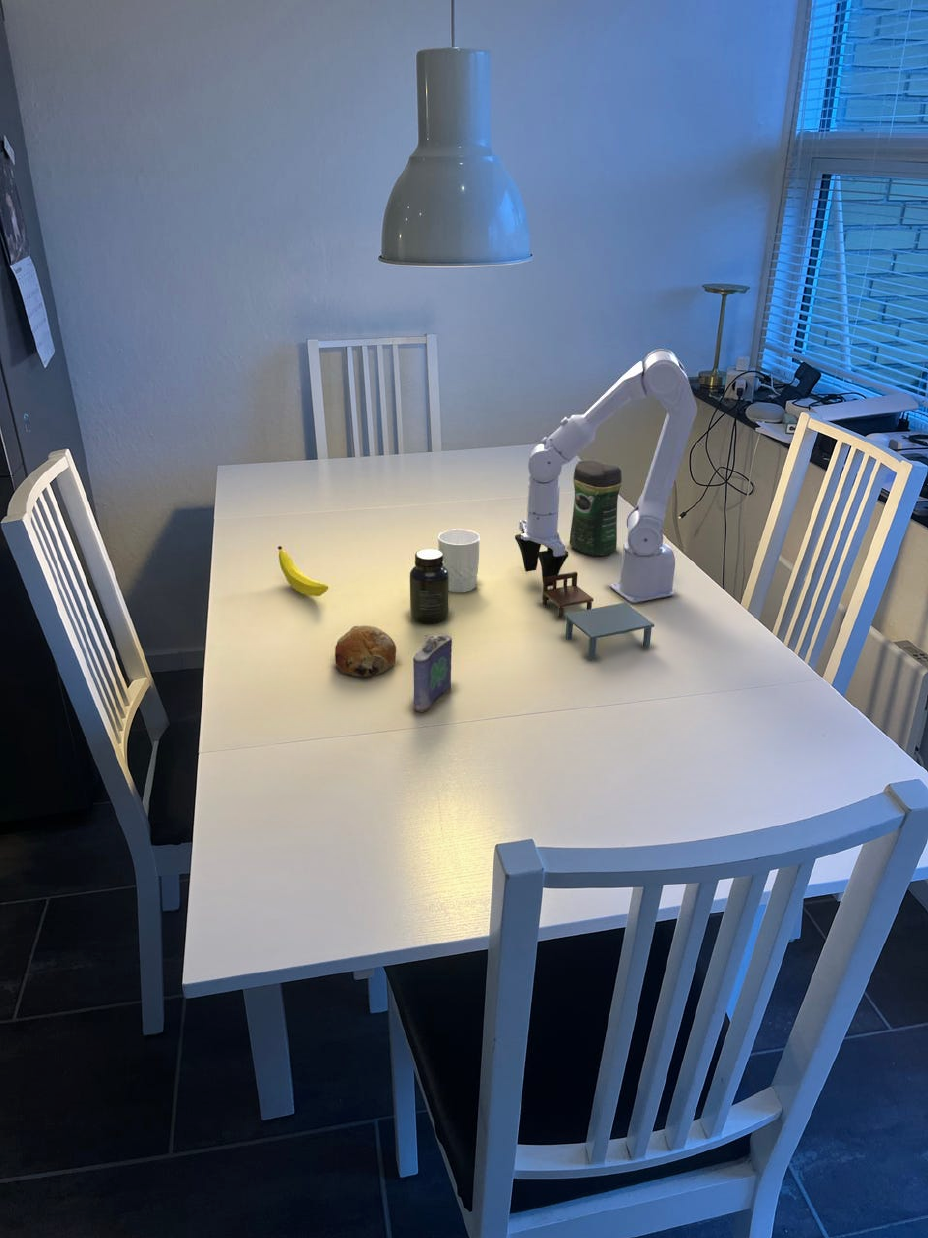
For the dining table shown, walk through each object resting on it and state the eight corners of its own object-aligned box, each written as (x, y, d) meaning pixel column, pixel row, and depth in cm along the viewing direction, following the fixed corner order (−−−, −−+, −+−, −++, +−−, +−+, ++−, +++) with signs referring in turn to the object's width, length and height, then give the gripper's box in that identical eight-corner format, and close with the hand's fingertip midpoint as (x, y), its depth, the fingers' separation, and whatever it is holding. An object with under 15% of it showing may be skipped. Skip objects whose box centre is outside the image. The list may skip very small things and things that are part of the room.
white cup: (475, 596, 178) (475, 546, 174) (433, 592, 180) (433, 542, 175) (482, 579, 185) (483, 530, 181) (443, 575, 186) (443, 527, 182)
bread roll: (402, 678, 158) (409, 630, 158) (378, 682, 148) (386, 631, 148) (347, 668, 161) (354, 621, 160) (320, 671, 151) (328, 621, 151)
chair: (572, 597, 178) (573, 569, 176) (592, 613, 172) (594, 585, 169) (539, 603, 176) (541, 575, 173) (559, 620, 170) (560, 591, 167)
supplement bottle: (413, 606, 174) (412, 545, 168) (450, 608, 173) (450, 547, 168) (407, 623, 168) (406, 560, 162) (446, 625, 167) (446, 562, 162)
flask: (424, 714, 141) (423, 650, 137) (407, 709, 143) (406, 646, 138) (455, 686, 149) (455, 625, 144) (438, 682, 150) (438, 621, 145)
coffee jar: (622, 551, 198) (630, 465, 190) (594, 560, 194) (601, 472, 185) (590, 537, 205) (596, 453, 196) (562, 545, 201) (567, 460, 192)
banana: (322, 613, 171) (319, 581, 168) (274, 578, 185) (271, 547, 182) (336, 609, 173) (334, 577, 170) (288, 574, 186) (285, 544, 184)
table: (623, 625, 168) (625, 602, 166) (651, 647, 161) (654, 623, 159) (563, 637, 164) (564, 614, 162) (589, 661, 156) (591, 637, 154)
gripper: (505, 500, 180) (504, 566, 186) (541, 526, 168) (538, 596, 174) (539, 495, 182) (536, 561, 188) (577, 520, 171) (572, 590, 177)
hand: (539, 577), depth 181 cm, fingers open, 7 cm apart
